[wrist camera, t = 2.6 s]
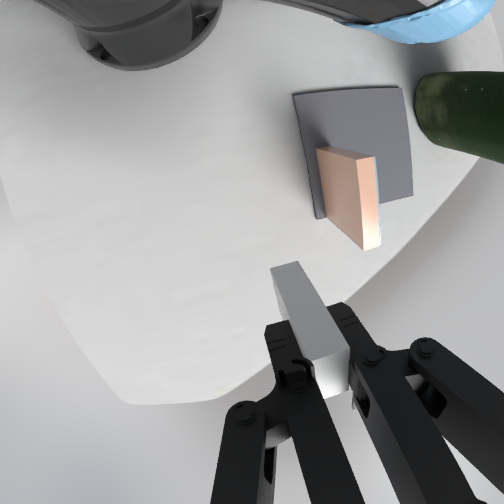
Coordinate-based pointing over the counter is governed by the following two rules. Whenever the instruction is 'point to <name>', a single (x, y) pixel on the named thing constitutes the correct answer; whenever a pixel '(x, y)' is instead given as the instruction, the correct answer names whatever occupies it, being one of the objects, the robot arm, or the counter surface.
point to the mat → (358, 136)
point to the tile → (351, 194)
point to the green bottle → (463, 111)
